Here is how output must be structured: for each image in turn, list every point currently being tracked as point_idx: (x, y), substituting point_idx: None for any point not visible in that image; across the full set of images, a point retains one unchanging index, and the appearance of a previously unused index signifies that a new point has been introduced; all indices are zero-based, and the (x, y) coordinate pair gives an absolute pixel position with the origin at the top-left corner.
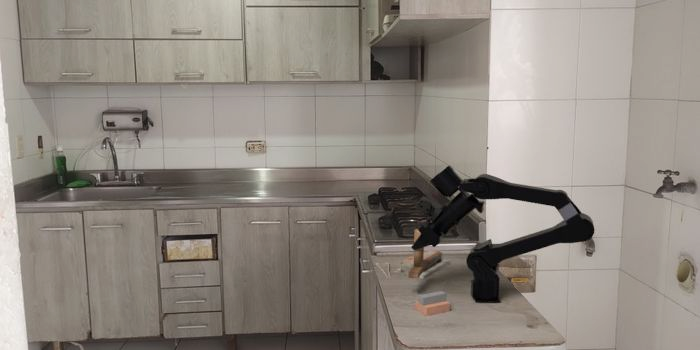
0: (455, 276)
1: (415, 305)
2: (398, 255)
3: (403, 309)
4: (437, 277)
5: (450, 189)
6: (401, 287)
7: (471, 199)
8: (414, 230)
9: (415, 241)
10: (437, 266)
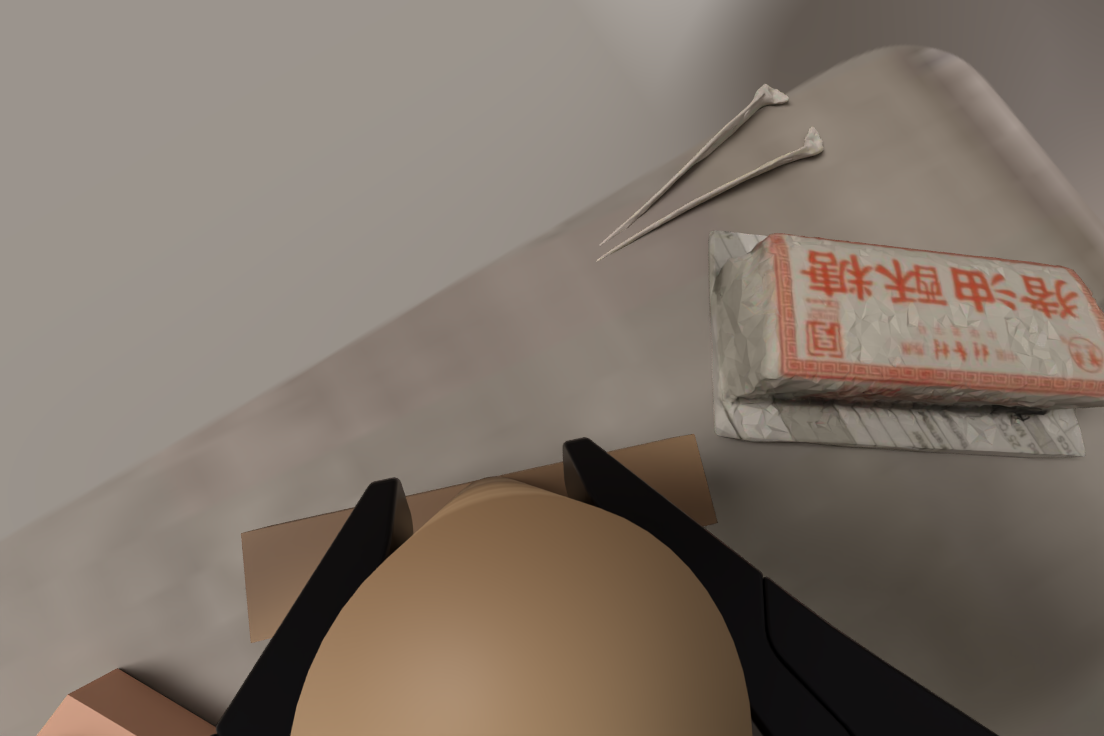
0: (880, 604)
1: (91, 686)
2: (980, 137)
3: (76, 596)
4: (791, 506)
5: None
6: (490, 386)
7: None
8: (417, 534)
9: (282, 621)
10: (936, 438)
